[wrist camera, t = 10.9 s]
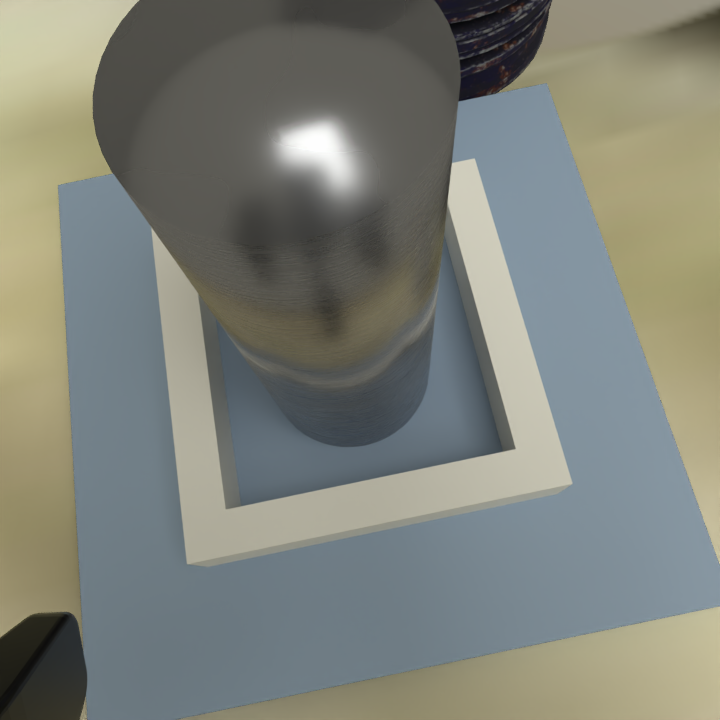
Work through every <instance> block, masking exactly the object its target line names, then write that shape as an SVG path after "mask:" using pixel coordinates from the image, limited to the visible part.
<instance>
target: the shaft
mask: <svg viewBox="0 0 720 720" xmlns="http://www.w3.org/2000/svg"><path fill="white" fill-rule="evenodd" d="M460 83H461V74H460V59H459V54H458V50H457V45H456V41H455V38H454V35H453V33H452V30H451V28H450V25H449V23H448V21H447V19H446V18H445V16H444V14H443V12H442V11H441V9H440V7H439V6H438V4H437V3H436V2H435V1H434V0H139V1H138V2H137V3H136V4H135V5H134V7H133V8H132V9H131V10H130V11H129V13H128V14H127V15H126V16H125V17H124V19H123V20H122V21H121V23H120V24H119V26H118V27H117V29H116V30H115V32H114V34H113V35H112V37H111V38H110V40H109V43H108V45H107V47H106V49H105V51H104V53H103V55H102V58H101V61H100V64H99V68H98V71H97V74H96V79H95V85H94V92H93V119H94V125H95V131H96V136H97V139H98V142H99V145H100V148H101V151H102V154H103V156H104V158H105V160H106V161H107V163H108V165H109V167H110V169H111V171H112V173H113V174H114V175H115V177H116V178H117V180H118V181H119V182H120V184H121V185H122V187H123V188H124V189H125V191H126V192H127V194H128V195H129V197H130V198H131V199H132V201H133V202H134V204H135V205H136V206H137V208H138V209H139V211H140V212H141V213H142V215H143V216H144V218H145V219H146V220H147V222H148V223H149V225H150V226H151V228H152V229H153V230H154V232H155V233H156V235H157V236H158V237H159V239H160V240H161V242H162V243H163V244H164V246H165V247H166V249H167V250H168V251H169V253H170V254H171V256H172V257H173V259H174V260H175V261H176V263H177V264H178V266H179V267H180V268H181V270H182V271H183V273H184V274H185V275H186V277H187V278H188V280H189V281H190V283H191V284H192V285H193V287H194V288H195V290H196V291H197V292H198V294H199V295H200V297H201V298H202V299H203V301H204V302H205V304H206V305H207V306H208V308H209V309H210V311H211V312H212V314H213V315H214V316H215V318H216V319H217V321H218V322H219V323H220V325H221V326H222V328H223V329H224V330H225V332H226V333H227V335H228V336H229V337H230V339H231V340H232V342H233V343H234V345H235V346H236V347H237V349H238V350H239V352H240V353H241V354H242V356H243V357H244V359H245V360H246V361H247V363H248V364H249V366H250V367H251V368H252V370H253V371H254V373H255V374H256V376H257V377H258V378H259V380H260V381H261V383H262V384H263V385H264V387H265V388H266V390H267V391H268V392H269V394H270V395H271V397H272V398H273V400H274V401H275V402H276V404H277V405H278V407H279V408H280V409H281V411H282V412H283V414H284V415H285V416H286V418H287V419H288V420H289V421H290V422H291V423H292V424H293V425H294V426H295V427H296V428H297V429H298V430H299V431H301V432H302V433H303V434H305V435H307V436H308V437H310V438H312V439H314V440H316V441H319V442H321V443H324V444H328V445H332V446H338V447H358V446H365V445H369V444H372V443H376V442H378V441H381V440H383V439H385V438H387V437H389V436H390V435H392V434H394V433H395V432H397V431H398V430H399V429H401V428H402V427H403V426H404V425H405V424H406V423H407V422H408V421H409V420H410V419H411V418H412V416H413V415H414V414H415V412H416V411H417V409H418V408H419V406H420V404H421V402H422V400H423V398H424V395H425V393H426V389H427V385H428V378H429V369H430V360H431V351H432V341H433V332H434V323H435V314H436V304H437V295H438V286H439V277H440V268H441V258H442V249H443V240H444V231H445V221H446V212H447V203H448V194H449V185H450V175H451V166H452V157H453V148H454V138H455V129H456V120H457V111H458V102H459V92H460Z"/></svg>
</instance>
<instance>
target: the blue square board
mask: <svg viewBox="0 0 720 720" xmlns="http://www.w3.org/2000/svg"><path fill="white" fill-rule="evenodd" d="M58 193H59V211H60V229H61V248H62V266H63V284H64V302H65V320H66V339H67V357H68V375H69V393H70V411H71V430H72V448H73V466H74V484H75V503H76V521H77V539H78V557H79V575H80V594H81V612H82V630H83V648H84V658H85V663H86V668H87V691H86V703H87V720H177V719H181V718H186V717H191V716H196V715H201V714H205V713H210V712H215V711H220V710H225V709H229V708H234V707H239V706H244V705H249V704H253V703H258V702H263V701H268V700H273V699H277V698H282V697H287V696H292V695H297V694H301V693H306V692H311V691H316V690H320V689H325V688H330V687H335V686H340V685H344V684H349V683H354V682H359V681H364V680H368V679H373V678H378V677H383V676H388V675H392V674H397V673H402V672H407V671H412V670H416V669H421V668H426V667H431V666H436V665H440V664H445V663H450V662H455V661H459V660H464V659H469V658H474V657H479V656H483V655H488V654H493V653H498V652H503V651H507V650H512V649H517V648H522V647H527V646H531V645H536V644H541V643H546V642H551V641H555V640H560V639H565V638H570V637H575V636H579V635H584V634H589V633H594V632H598V631H603V630H608V629H613V628H618V627H622V626H627V625H632V624H637V623H642V622H646V621H651V620H656V619H661V618H666V617H670V616H675V615H680V614H685V613H690V612H694V611H699V610H704V609H709V608H714V607H718V606H720V565H719V562H718V559H717V556H716V553H715V551H714V548H713V545H712V542H711V540H710V537H709V534H708V531H707V528H706V526H705V523H704V520H703V517H702V514H701V512H700V509H699V506H698V503H697V501H696V498H695V495H694V492H693V489H692V487H691V484H690V481H689V478H688V475H687V473H686V470H685V467H684V464H683V462H682V459H681V456H680V453H679V450H678V448H677V445H676V442H675V439H674V436H673V434H672V431H671V428H670V425H669V423H668V420H667V417H666V414H665V411H664V409H663V406H662V403H661V400H660V397H659V395H658V392H657V389H656V386H655V384H654V381H653V378H652V375H651V372H650V370H649V367H648V364H647V361H646V359H645V356H644V353H643V350H642V347H641V345H640V342H639V339H638V336H637V333H636V331H635V328H634V325H633V322H632V320H631V317H630V314H629V311H628V308H627V306H626V303H625V300H624V297H623V294H622V292H621V289H620V286H619V283H618V281H617V278H616V275H615V272H614V269H613V267H612V264H611V261H610V258H609V255H608V253H607V250H606V247H605V244H604V242H603V239H602V236H601V233H600V230H599V228H598V225H597V222H596V219H595V216H594V214H593V211H592V208H591V205H590V203H589V200H588V197H587V194H586V191H585V189H584V186H583V183H582V180H581V177H580V175H579V172H578V169H577V166H576V164H575V161H574V158H573V155H572V152H571V150H570V147H569V144H568V141H567V139H566V136H565V133H564V130H563V127H562V125H561V122H560V119H559V116H558V113H557V111H556V108H555V105H554V102H553V100H552V97H551V94H550V91H549V88H548V86H547V83H545V84H540V85H536V86H531V87H526V88H521V89H516V90H512V91H507V92H502V93H497V94H493V95H488V96H483V97H478V98H473V99H469V100H464V101H459V102H458V111H457V120H456V129H455V138H454V148H453V157H452V166H451V175H450V185H449V194H448V203H447V212H446V221H445V231H444V240H443V249H442V258H441V268H440V277H439V286H438V295H437V304H436V314H435V323H434V332H433V341H432V351H431V360H430V369H429V378H428V385H427V389H426V393H425V395H424V398H423V400H422V402H421V404H420V406H419V408H418V409H417V411H416V412H415V414H414V415H413V416H412V418H411V419H410V420H409V421H408V422H407V423H406V424H405V425H404V426H403V427H402V428H401V429H399V430H398V431H397V432H395V433H394V434H392V435H390V436H389V437H387V438H385V439H383V440H381V441H378V442H376V443H372V444H369V445H365V446H358V447H338V446H332V445H328V444H324V443H321V442H319V441H316V440H314V439H312V438H310V437H308V436H307V435H305V434H303V433H302V432H301V431H299V430H298V429H297V428H296V427H295V426H294V425H293V424H292V423H291V422H290V421H289V420H288V419H287V418H286V416H285V415H284V414H283V412H282V411H281V409H280V408H279V407H278V405H277V404H276V402H275V401H274V400H273V398H272V397H271V395H270V394H269V392H268V391H267V390H266V388H265V387H264V385H263V384H262V383H261V381H260V380H259V378H258V377H257V376H256V374H255V373H254V371H253V370H252V368H251V367H250V366H249V364H248V363H247V361H246V360H245V359H244V357H243V356H242V354H241V353H240V352H239V350H238V349H237V347H236V346H235V345H234V343H233V342H232V340H231V339H230V337H229V336H228V335H227V333H226V332H225V330H224V329H223V328H222V326H221V325H220V323H219V322H218V321H217V319H216V318H215V316H214V315H213V314H212V312H211V311H210V309H209V308H208V306H207V305H206V304H205V302H204V301H203V299H202V298H201V297H200V295H199V294H198V292H197V291H196V290H195V288H194V287H193V285H192V284H191V283H190V281H189V280H188V278H187V277H186V275H185V274H184V273H183V271H182V270H181V268H180V267H179V266H178V264H177V263H176V261H175V260H174V259H173V257H172V256H171V254H170V253H169V251H168V250H167V249H166V247H165V246H164V244H163V243H162V242H161V240H160V239H159V237H158V236H157V235H156V233H155V232H154V230H153V229H152V228H151V226H150V225H149V223H148V222H147V220H146V219H145V218H144V216H143V215H142V213H141V212H140V211H139V209H138V208H137V206H136V205H135V204H134V202H133V201H132V199H131V198H130V197H129V195H128V194H127V192H126V191H125V189H124V188H123V187H122V185H121V184H120V182H119V181H118V180H117V178H116V177H115V175H114V174H109V175H105V176H100V177H95V178H90V179H85V180H81V181H76V182H71V183H66V184H61V185H58Z"/></svg>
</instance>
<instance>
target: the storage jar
mask: <svg viewBox="0 0 720 720" xmlns="http://www.w3.org/2000/svg"><path fill="white" fill-rule="evenodd" d="M434 1H435V2H436V3H437V4H438V6H439V7H440V9H441V11H442V12H443V14H444V16H445V18H446V19H447V21H448V23H449V25H450V28H451V30H452V33H453V35H454V38H455V41H456V45H457V50H458V54H459V59H460V74H461V83H460V92H459V101H464V100H469V99H473V98H478V97H483V96H488V95H493V94H496V93H497V92H499V91H500V90H502V89H503V88H505V87H506V86H508V85H509V84H511V83H512V82H513V81H514V80H515V79H516V78H517V77H518V76H519V75H520V74H521V73H522V72H523V71H524V70H525V69H526V67H527V66H528V65H529V64H530V62H531V61H532V60H533V58H534V57H535V55H536V53H537V51H538V49H539V47H540V45H541V42H542V39H543V36H544V32H545V29H546V25H547V21H548V14H549V9H550V6H551V2H552V0H434Z"/></svg>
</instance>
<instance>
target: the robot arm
mask: <svg viewBox="0 0 720 720" xmlns="http://www.w3.org/2000/svg"><path fill="white" fill-rule="evenodd" d="M86 691H87V668H86V663H85V658H84V653H83V648H82V642H81V637H80V632H79V627H78V623H77V620H76V618H75V616H74V615H73V614H71V613H69V612H52V613H37V614H33V615H30V616H29V617H27V618H26V619H24V620H23V621H22V622H20V623H19V624H18V625H16V626H15V627H14V628H12V629H11V630H10V631H8V632H7V633H6V634H4V635H3V636H2V637H0V720H80V716H81V712H82V708H83V705H84V701H85V696H86Z"/></svg>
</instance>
